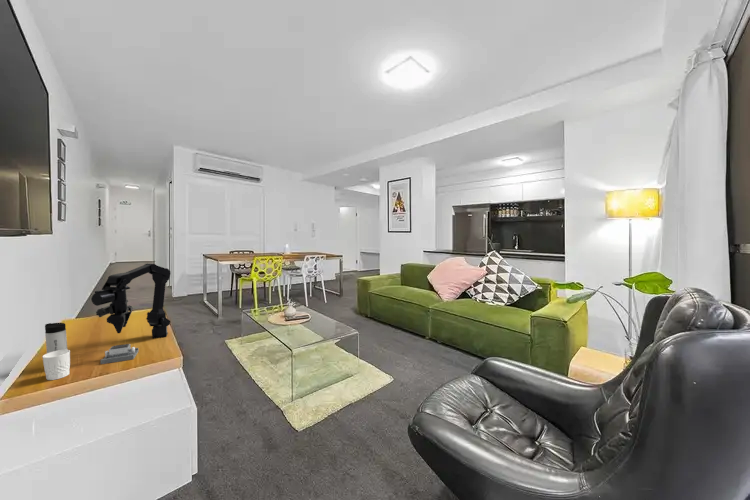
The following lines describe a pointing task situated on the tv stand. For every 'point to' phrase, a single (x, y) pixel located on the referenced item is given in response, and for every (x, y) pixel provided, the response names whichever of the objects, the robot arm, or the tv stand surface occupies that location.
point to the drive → (119, 350)
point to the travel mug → (55, 337)
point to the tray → (117, 359)
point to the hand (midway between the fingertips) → (121, 330)
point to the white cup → (57, 364)
